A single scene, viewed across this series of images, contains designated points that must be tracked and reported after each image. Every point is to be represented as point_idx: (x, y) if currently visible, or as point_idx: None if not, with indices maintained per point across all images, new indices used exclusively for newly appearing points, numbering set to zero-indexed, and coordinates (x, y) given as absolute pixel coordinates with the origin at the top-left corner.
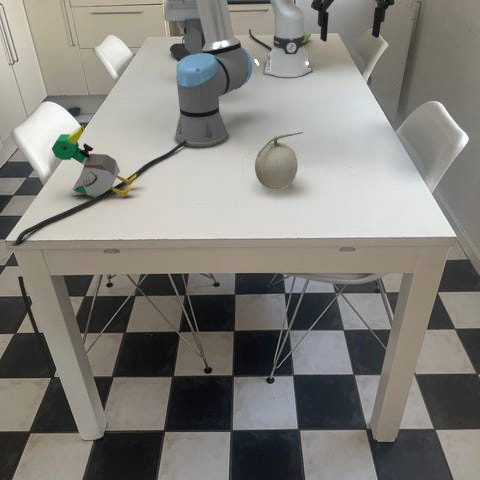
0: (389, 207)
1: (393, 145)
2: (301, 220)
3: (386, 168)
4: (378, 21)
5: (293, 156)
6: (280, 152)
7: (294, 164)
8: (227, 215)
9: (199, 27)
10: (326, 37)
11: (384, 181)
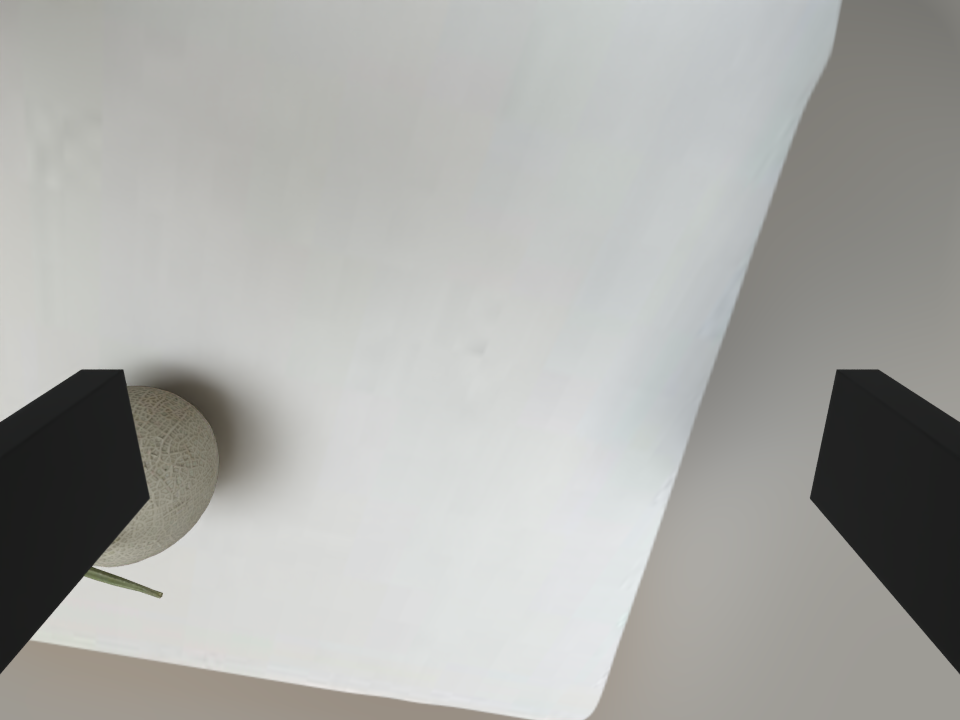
0: (499, 601)
1: (750, 197)
2: (228, 610)
3: (609, 386)
4: (944, 647)
5: (166, 541)
6: (97, 561)
7: (181, 537)
8: None
9: None
10: (120, 526)
11: (556, 469)
